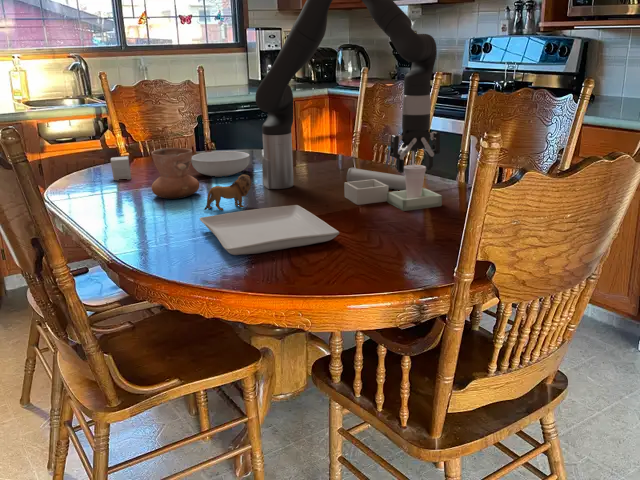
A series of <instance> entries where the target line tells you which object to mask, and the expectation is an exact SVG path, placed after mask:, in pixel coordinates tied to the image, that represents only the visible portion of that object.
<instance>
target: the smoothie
mask: <svg viewBox="0 0 640 480" xmlns="http://www.w3.org/2000/svg"><path fill="white" fill-rule="evenodd" d="M411 151H412V154H411V157H412V158H411V164H408V165H404V172H403V173H404V176H405V183H406V193H407V199H410V198H418V197H421V193H422V188H424V187H423V186H424V181H425V180H424V179H425V175H426V171H427V169H426V166H425V165H422V164H420V165H419V164H415V150H411Z"/></svg>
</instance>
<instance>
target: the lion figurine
mask: <svg viewBox="0 0 640 480" xmlns="http://www.w3.org/2000/svg"><path fill="white" fill-rule="evenodd" d="M251 187H252V180H251V176H249V175H248V174H241V175H239V176H238V177H237V179H235V180H234V182H233V183H232V184H231V185H228V186H222V185H216V186H213V187H211V188H210V189H209V191H208V193H207V197H206V198H207V199H206V201H207V202H206V205H205V207H204V208H203V211H206V210H207V209H208V210H209V209H210V208H212V209H213V206H211V204H212V203H213V202H215V207H216V208H217V209H218V211H220V210H222V211H224V208H223V207H221V206H220V203H221V198H223V199H227V200H231V199H234V200H233V201H234V206H235V205H236V207H239V208H240V207H244V208H245V206H244V205H243V198H244V197H246V196H247V195H248V193H249V191H250V189H251ZM238 205H239V206H238ZM210 210H211V209H210Z"/></svg>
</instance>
